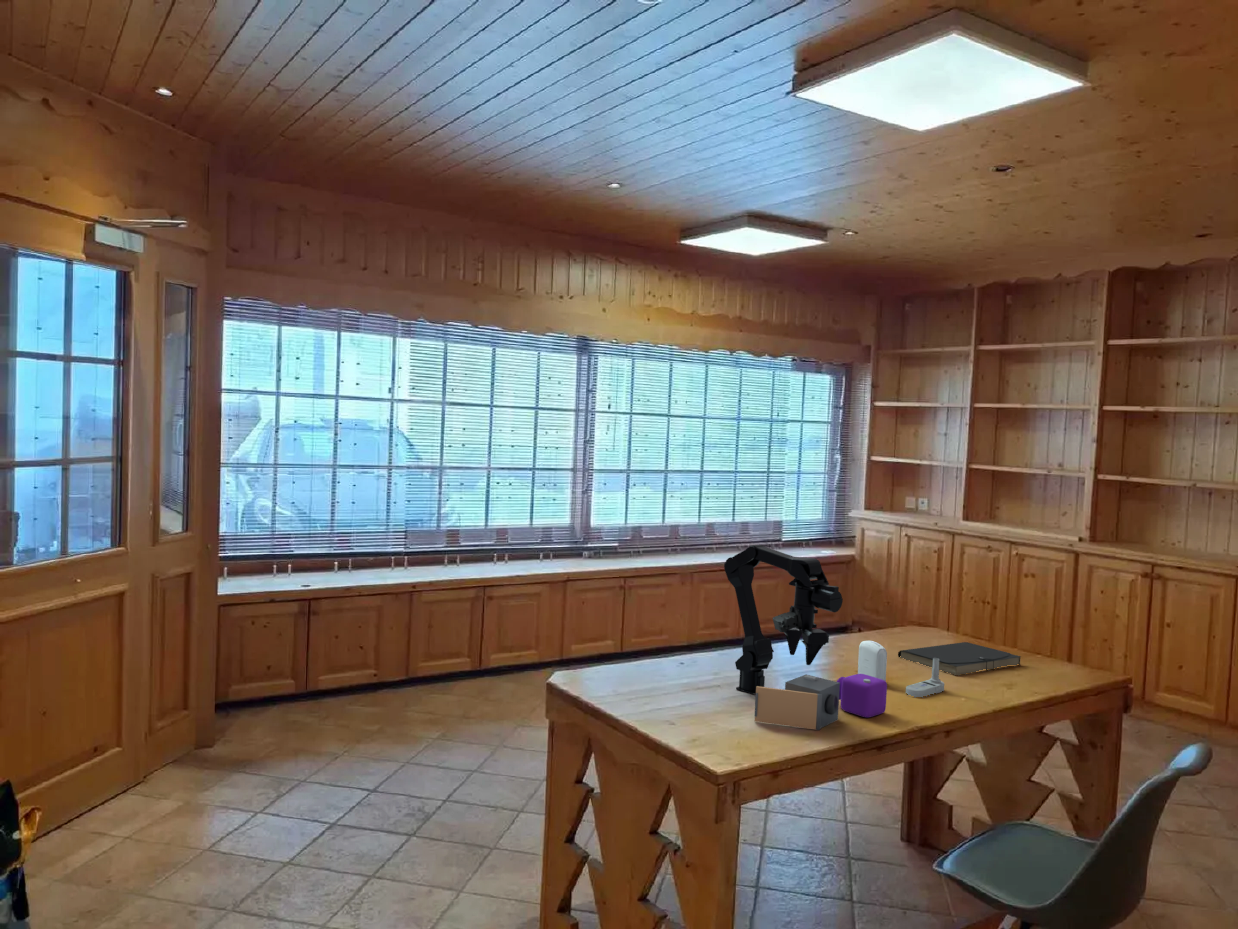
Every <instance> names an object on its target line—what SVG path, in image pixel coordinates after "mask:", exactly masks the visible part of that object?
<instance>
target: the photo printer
mask: <svg viewBox="0 0 1238 929" xmlns="http://www.w3.org/2000/svg"><path fill="white" fill-rule="evenodd" d="M887 659H888V652H887V650H886V648H885V647H884V646H883V645H882V644H880V643H879V642H876V641H873V640H863V641H861V642H860V644H859V647H858V664H857V674H865V675H869V676H872V677H876V678H879V679H882V680H884V681H886V680H887V661H888V660H887ZM886 682H887V681H886Z"/></svg>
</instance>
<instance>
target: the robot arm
mask: <svg viewBox="0 0 1238 929" xmlns="http://www.w3.org/2000/svg"><path fill="white" fill-rule="evenodd" d="M819 560H820V559H819ZM819 560H818V558H813V557H804V556H803V557H802V556H793V555H791V554H787V553H784V552H782V551H778V550H775V549H772V548H769V547H766V546H764V545H763V544H753V545H750V546H748V547H747V548H746V549H744V550H742V551H741V552H738V553H737V554H735V555H734V556H731V557H728V558H727V559H726V560H725V563H724V565H723V569H724V572H725V576H726V578H727V581H728V582H729V583H730V584H731V585H732V587H733V588H734V590H735V595H736V601H737V606H738V609H739V610H738V611H739V615H740V619H741V624H742V628H743V634H744V639H743V643H742V646H741V648H742V649H741V650H742V655H741V656H740V657H739V658H738V659H737V660H735V662H734V665H735V668H736V670H737V671H738V670H739V682H738V686H736V688H735V689H736V690H738V691H741V692H744V693H749V694H752V695H756V686H759V687H765V684H766V683H765V679H766V677H765V675H764V673H765V672H764V670H767V669H768V668H769V665H770V663H771V662H772V660H773V658H774V656H773V653H774V652H775V651H774V648H773V646H772V639H771V638H770V637H768V638H766V637H765V635H764V634H763V631H762V628H761V624H760V620H759V614H758V611H757V606H756V605H757V604H756V601H755V596H754V592H753V586H752V584H753V580H754V577H755V571H754V570H755V569H754V568H755V567H756V566H758V565H759V564H760V562H762V563H764V564H767V565H771V566H772V567H776V568H779V569H781V570H784V571H786V572H787V573H788V574H789V576H791V577H793V579H792V580H791V581H790V582H788V584H789V586H792V587H794V598H793V599H794V601H793V605H790V607H789V611H788V612H784V613H781V614H778V615H776V616H773V617H772V621H773V625H774V628H775V630H777V631H778V632H779V633H784V634H785V637H786V641H787V642H786V643H787V646H788V650H789V655H790V656H795V654H796V651H797V649H798V646H799V642H800V639H801V637H802V640H801V643H802V644H803V645H804V646H805V664H806V665H807V666H811V665H812V663H813V661H814V660H815V658H816V656H817V655H818V654H819V652H820V651H821V649H822V648H823V647H824V646H825V645H826V644H829V642H830V635H829V634H828V633H827V632H826V631H824V630H822V629H820V628H818V627H817V626H818V624H816V623H815V615H816V614H819V613H818V612H819V610H818V609H820V610H825V611H828V612H830V613H831V612H832V613H837V612H839V611H840V609H841V607H842V606H843V601H844V600H843V596H842V593H841V592H840V590H839V589H840V588H839V587H840V586H838V585H830V583H829V581H828V578H827V576H826V575H825V573H824V570H823V568H822V564H821V562H820V561H819Z"/></svg>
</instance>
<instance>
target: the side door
mask: <svg viewBox="0 0 1238 929" xmlns="http://www.w3.org/2000/svg"><path fill="white" fill-rule="evenodd" d="M754 700H755V701H754V722H759V723H763V724H764V723H765V724H771V725H778V726H779V725H780V726H788V727H794V728H801V729H808V730H815V731H820V730H821V728H820V721H821V703H822V694H815V693H807V692H799V691H791V690H785V689H782V688H775V687H774V688H773V687H765V686H764V687H759V686H756V694H755V699H754Z"/></svg>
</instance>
